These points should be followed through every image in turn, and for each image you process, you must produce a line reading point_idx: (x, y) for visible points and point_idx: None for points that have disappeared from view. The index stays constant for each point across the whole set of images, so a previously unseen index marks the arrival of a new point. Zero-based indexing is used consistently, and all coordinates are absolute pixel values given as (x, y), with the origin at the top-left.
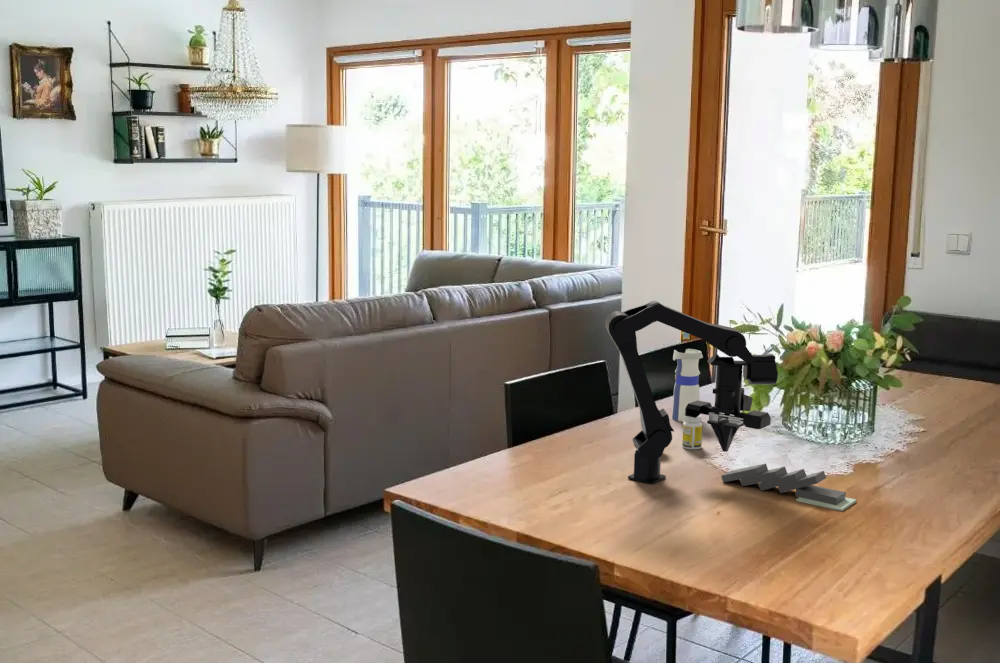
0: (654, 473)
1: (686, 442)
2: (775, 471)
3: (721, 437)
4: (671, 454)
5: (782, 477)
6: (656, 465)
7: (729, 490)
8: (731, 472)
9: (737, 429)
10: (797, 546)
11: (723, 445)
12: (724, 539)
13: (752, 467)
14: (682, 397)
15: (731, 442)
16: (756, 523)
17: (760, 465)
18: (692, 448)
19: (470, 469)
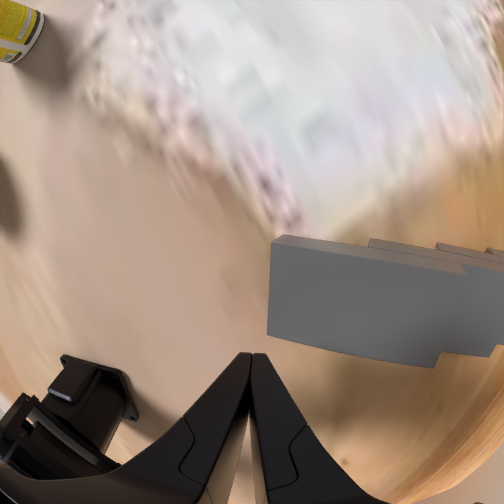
0: (120, 418)
1: (3, 60)
2: (489, 356)
3: (233, 479)
4: (5, 141)
5: (496, 343)
6: (112, 431)
7: (328, 372)
8: (303, 314)
9: (360, 496)
10: (453, 453)
11: (247, 418)
12: (372, 489)
13: (409, 314)
14: None
15: (288, 393)
16: (411, 451)
17: (446, 309)
18: (26, 50)
19: (3, 407)
